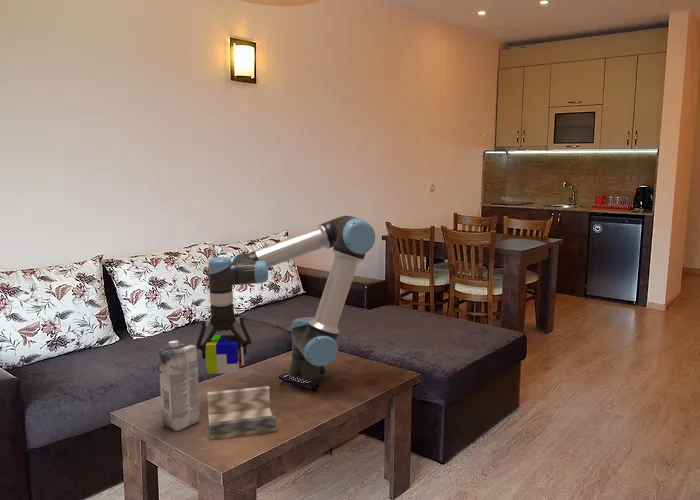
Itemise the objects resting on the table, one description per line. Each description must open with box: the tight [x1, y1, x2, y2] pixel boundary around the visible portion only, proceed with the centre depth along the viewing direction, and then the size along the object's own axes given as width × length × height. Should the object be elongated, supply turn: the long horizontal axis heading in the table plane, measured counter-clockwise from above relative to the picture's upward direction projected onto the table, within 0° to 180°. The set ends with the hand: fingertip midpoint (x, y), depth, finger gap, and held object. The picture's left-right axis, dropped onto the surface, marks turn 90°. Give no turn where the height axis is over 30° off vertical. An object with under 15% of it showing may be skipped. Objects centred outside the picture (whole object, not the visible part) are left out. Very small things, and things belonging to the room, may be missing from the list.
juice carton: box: [157, 340, 200, 432], centre depth 184 cm, size 9×10×27 cm
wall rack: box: [206, 385, 277, 440], centre depth 186 cm, size 20×17×8 cm
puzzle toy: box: [205, 334, 242, 375], centre depth 199 cm, size 10×10×10 cm
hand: (225, 365), depth 200 cm, fingers closed on puzzle toy, 11 cm apart
